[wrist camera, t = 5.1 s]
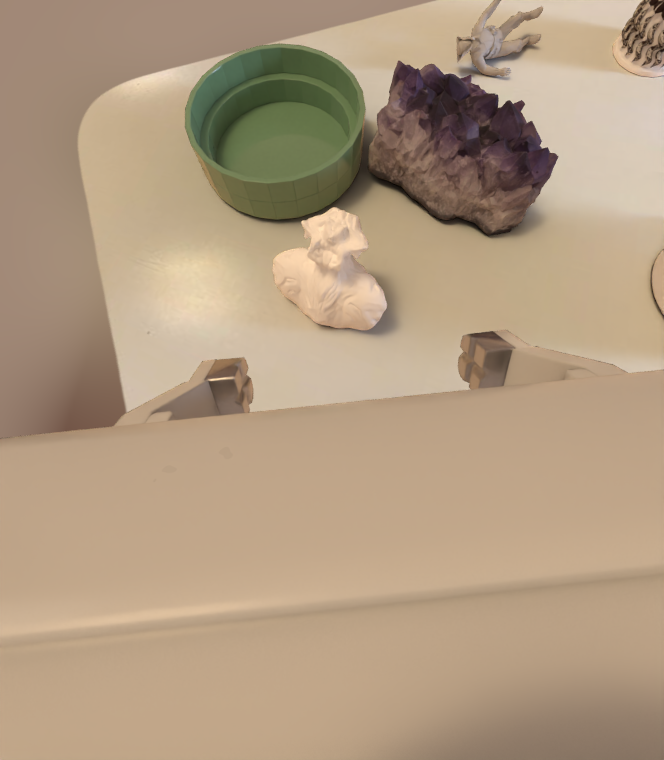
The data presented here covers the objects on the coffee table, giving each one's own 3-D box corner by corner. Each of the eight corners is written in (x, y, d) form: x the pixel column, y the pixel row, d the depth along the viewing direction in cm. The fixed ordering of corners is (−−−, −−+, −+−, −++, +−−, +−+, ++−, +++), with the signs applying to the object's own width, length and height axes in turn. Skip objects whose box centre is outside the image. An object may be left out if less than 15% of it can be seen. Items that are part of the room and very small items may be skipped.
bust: (380, 329, 35) (424, 225, 27) (361, 363, 29) (410, 243, 22) (287, 288, 36) (305, 179, 29) (251, 313, 30) (263, 185, 23)
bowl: (351, 91, 40) (353, 35, 35) (370, 214, 36) (376, 172, 30) (206, 106, 40) (185, 52, 35) (207, 230, 36) (183, 191, 30)
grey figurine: (539, 69, 42) (490, 74, 37) (503, 85, 45) (454, 92, 40) (545, -15, 38) (491, -22, 33) (505, 10, 41) (451, 6, 36)
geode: (546, 187, 36) (618, 103, 26) (487, 264, 36) (539, 207, 26) (405, 102, 38) (423, -5, 29) (349, 173, 38) (347, 89, 28)
